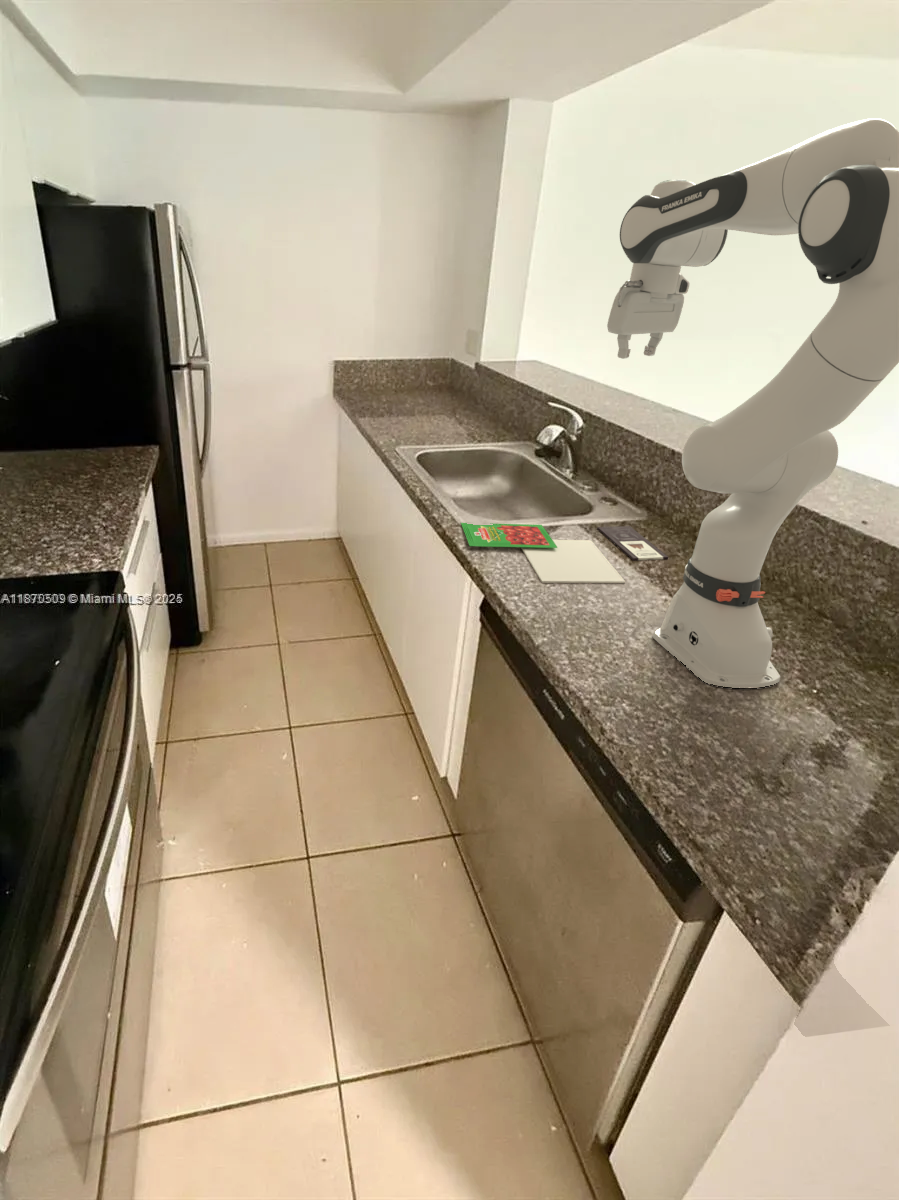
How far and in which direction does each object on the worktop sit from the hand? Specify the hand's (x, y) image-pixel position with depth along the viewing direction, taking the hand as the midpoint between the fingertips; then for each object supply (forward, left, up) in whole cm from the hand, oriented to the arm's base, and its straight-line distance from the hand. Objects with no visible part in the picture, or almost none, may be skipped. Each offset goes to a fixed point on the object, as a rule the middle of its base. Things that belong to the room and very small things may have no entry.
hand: (636, 356), depth 131 cm
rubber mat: (-8, +10, -42) cm, 44 cm away
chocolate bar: (+2, -9, -43) cm, 43 cm away
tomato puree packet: (+4, +10, -41) cm, 43 cm away
